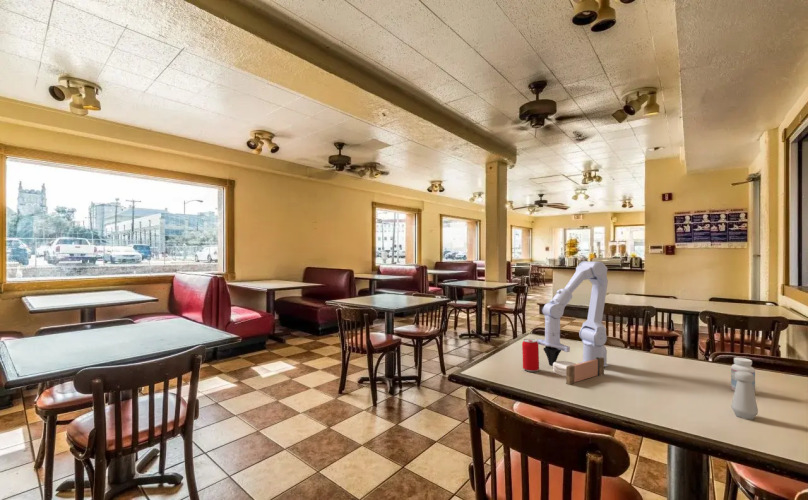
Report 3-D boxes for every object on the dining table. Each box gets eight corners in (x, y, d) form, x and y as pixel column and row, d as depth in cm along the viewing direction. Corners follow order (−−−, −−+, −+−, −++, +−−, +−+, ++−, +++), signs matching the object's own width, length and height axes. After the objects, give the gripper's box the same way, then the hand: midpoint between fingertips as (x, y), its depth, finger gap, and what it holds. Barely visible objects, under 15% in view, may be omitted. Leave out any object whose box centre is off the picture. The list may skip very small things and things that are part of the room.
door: (592, 373, 140) (592, 358, 140) (597, 375, 138) (597, 359, 138) (569, 380, 132) (569, 364, 132) (574, 382, 130) (575, 365, 131)
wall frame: (600, 373, 141) (601, 356, 141) (603, 374, 140) (604, 356, 140) (566, 383, 130) (566, 365, 130) (569, 384, 129) (569, 365, 129)
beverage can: (537, 367, 147) (536, 338, 147) (540, 372, 141) (539, 342, 141) (521, 367, 148) (520, 338, 148) (524, 372, 142) (523, 341, 142)
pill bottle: (748, 389, 126) (748, 357, 126) (759, 396, 120) (759, 362, 120) (727, 387, 128) (727, 355, 128) (736, 393, 122) (736, 360, 122)
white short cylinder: (568, 379, 135) (568, 370, 135) (547, 371, 144) (547, 362, 144) (586, 375, 140) (586, 366, 140) (564, 367, 148) (564, 359, 148)
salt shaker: (725, 412, 107) (725, 369, 107) (742, 411, 108) (743, 368, 108) (745, 421, 102) (746, 376, 102) (763, 421, 102) (764, 375, 102)
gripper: (531, 330, 151) (531, 362, 151) (562, 337, 139) (561, 372, 139) (542, 328, 155) (542, 359, 155) (573, 335, 143) (572, 369, 143)
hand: (552, 365), depth 147 cm, fingers closed
